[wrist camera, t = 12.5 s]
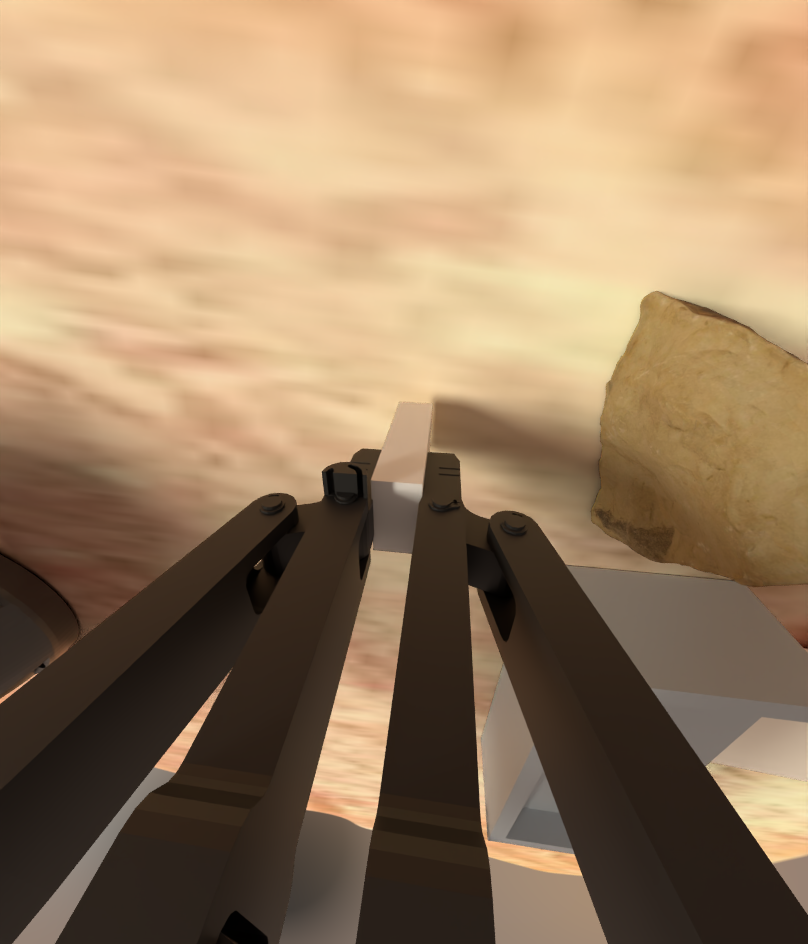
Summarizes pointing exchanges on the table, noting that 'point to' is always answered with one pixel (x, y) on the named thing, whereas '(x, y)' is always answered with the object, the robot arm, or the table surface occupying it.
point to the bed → (655, 684)
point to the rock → (707, 447)
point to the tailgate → (770, 749)
